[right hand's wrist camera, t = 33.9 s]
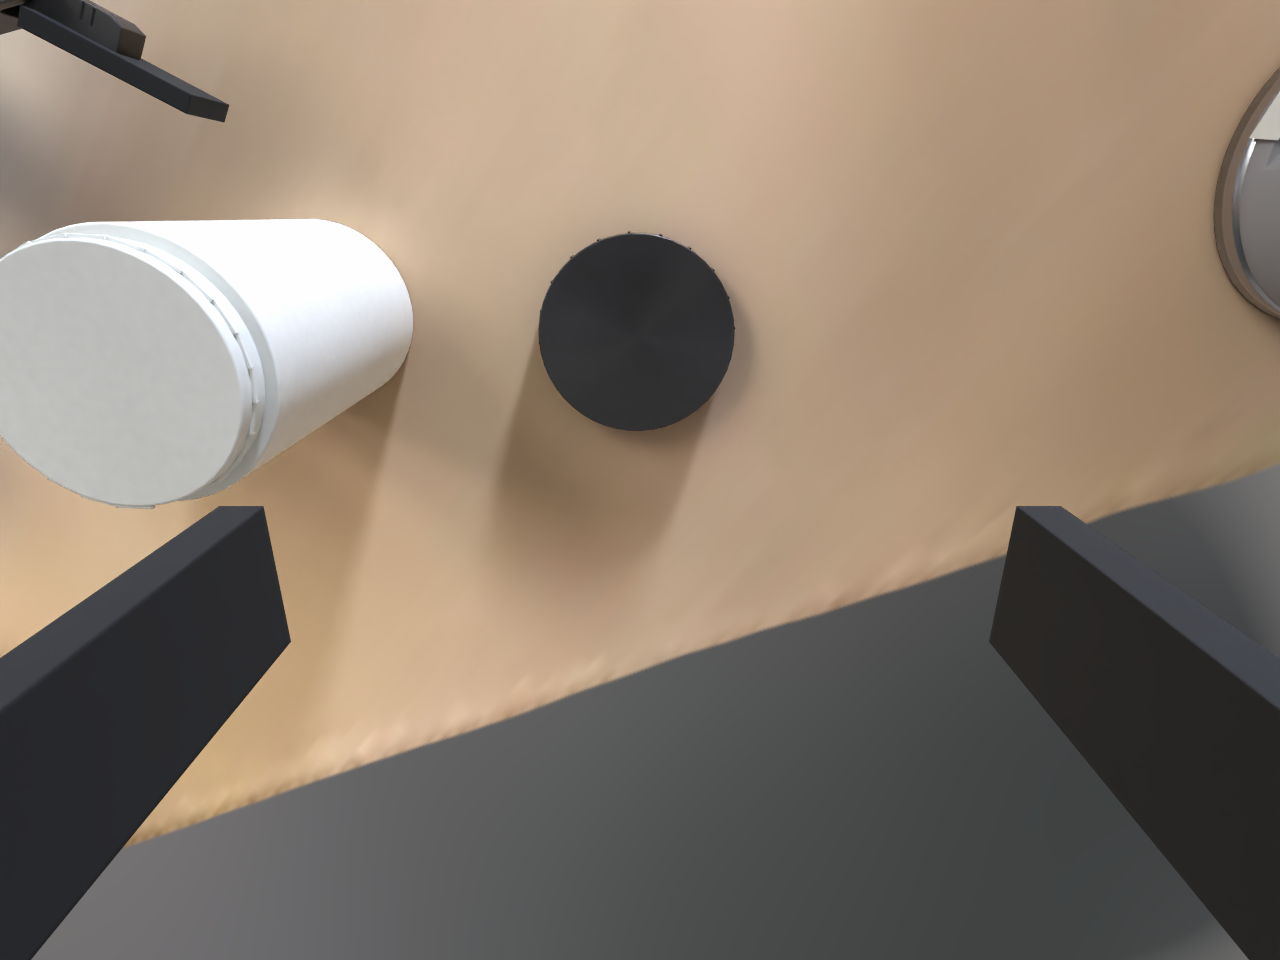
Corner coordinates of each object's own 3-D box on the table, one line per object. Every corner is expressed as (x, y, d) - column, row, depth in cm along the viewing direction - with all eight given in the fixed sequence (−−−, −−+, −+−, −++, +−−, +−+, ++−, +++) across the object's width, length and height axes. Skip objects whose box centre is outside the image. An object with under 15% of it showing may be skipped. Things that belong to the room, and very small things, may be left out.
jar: (222, 213, 36) (-95, 212, 21) (408, 224, 37) (234, 231, 21) (248, 394, 40) (-9, 512, 24) (418, 403, 40) (274, 526, 24)
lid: (539, 414, 40) (534, 423, 39) (546, 223, 37) (541, 223, 35) (718, 429, 41) (721, 438, 39) (742, 241, 37) (747, 242, 35)
